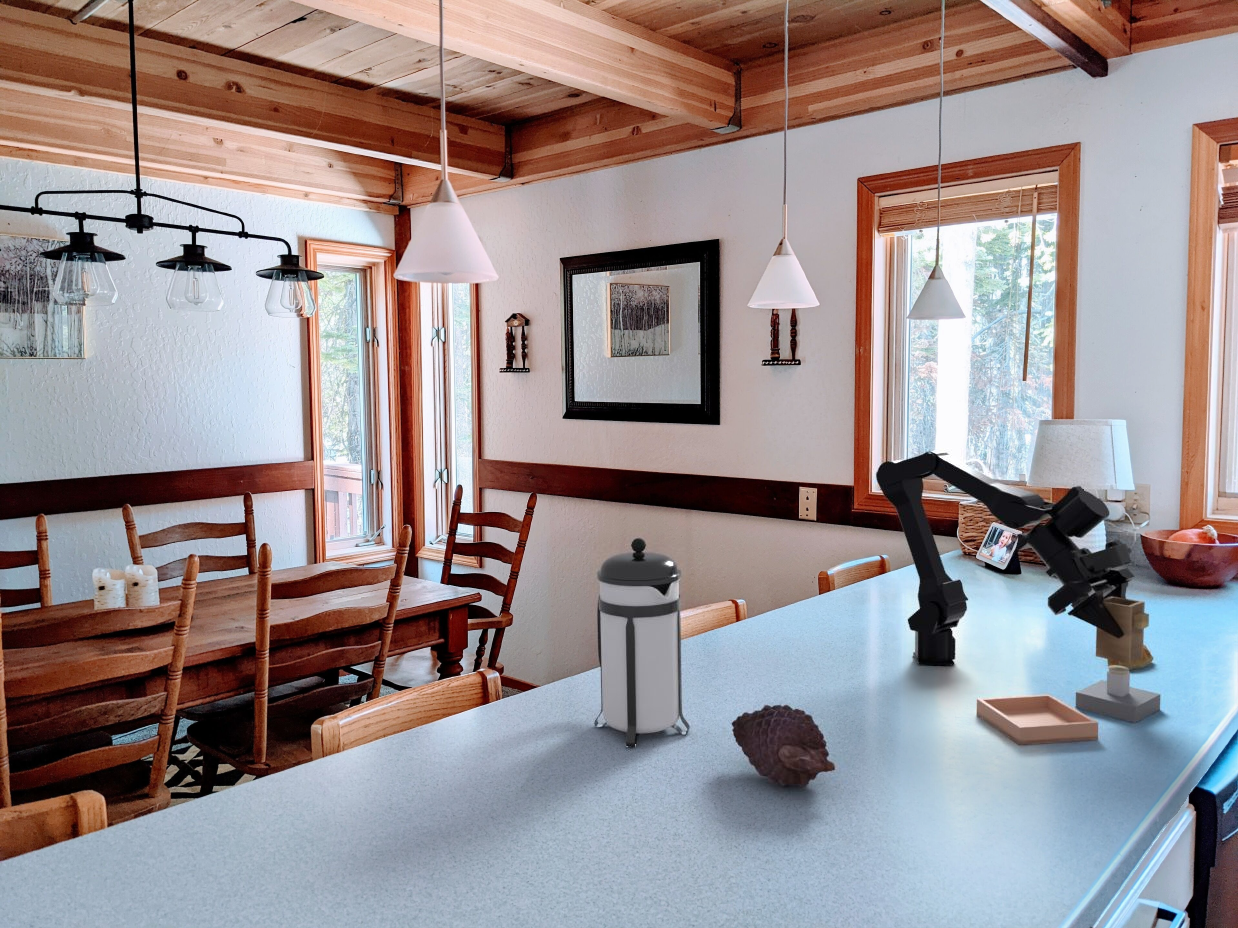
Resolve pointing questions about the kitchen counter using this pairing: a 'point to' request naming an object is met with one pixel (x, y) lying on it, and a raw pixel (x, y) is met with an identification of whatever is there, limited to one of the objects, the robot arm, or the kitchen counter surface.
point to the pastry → (1136, 664)
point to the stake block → (1118, 697)
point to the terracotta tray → (1037, 719)
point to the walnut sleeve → (1131, 624)
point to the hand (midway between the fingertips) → (1129, 633)
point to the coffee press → (640, 642)
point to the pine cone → (783, 744)
